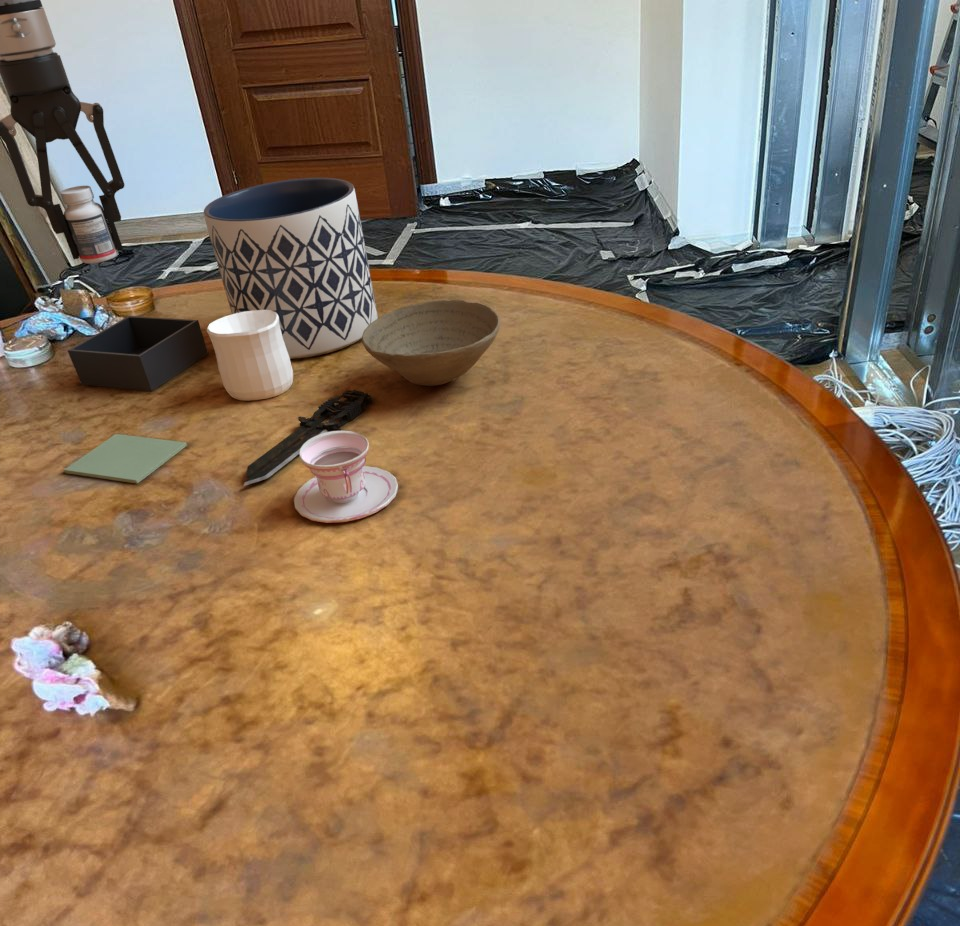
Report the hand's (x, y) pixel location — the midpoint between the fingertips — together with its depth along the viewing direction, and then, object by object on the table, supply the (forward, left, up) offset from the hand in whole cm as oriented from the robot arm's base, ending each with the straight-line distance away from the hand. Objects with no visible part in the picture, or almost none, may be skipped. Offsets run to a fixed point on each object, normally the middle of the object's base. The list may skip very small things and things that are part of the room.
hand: (97, 251), depth 123 cm
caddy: (-2, +3, -19) cm, 19 cm away
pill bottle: (0, 0, -1) cm, 1 cm away
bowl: (+47, +7, -19) cm, 51 cm away
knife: (+38, -13, -19) cm, 44 cm away
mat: (+16, -22, -19) cm, 33 cm away
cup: (+22, 0, -19) cm, 29 cm away
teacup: (+50, -24, -19) cm, 58 cm away
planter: (+18, +20, -19) cm, 33 cm away
